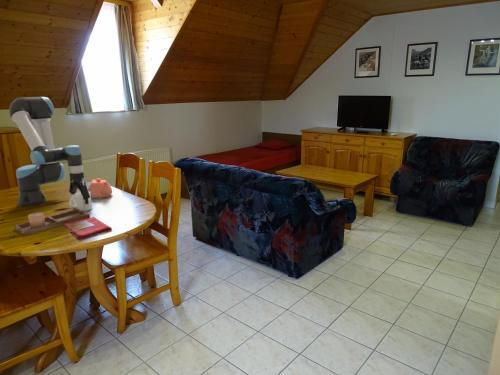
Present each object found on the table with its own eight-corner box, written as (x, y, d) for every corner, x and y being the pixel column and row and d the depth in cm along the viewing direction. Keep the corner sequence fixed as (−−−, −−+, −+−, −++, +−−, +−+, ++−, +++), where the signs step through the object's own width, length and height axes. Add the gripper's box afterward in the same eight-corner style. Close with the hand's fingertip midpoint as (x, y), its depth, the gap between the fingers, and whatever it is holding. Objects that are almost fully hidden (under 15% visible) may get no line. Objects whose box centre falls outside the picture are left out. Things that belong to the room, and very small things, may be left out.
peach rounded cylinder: (28, 227, 187) (25, 214, 185) (42, 223, 192) (40, 211, 190) (33, 230, 183) (31, 217, 181) (48, 226, 188) (46, 214, 186)
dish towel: (79, 241, 175) (78, 236, 174) (62, 227, 191) (61, 222, 190) (113, 231, 186) (112, 226, 185) (95, 219, 202) (94, 214, 202)
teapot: (119, 197, 239) (117, 179, 236) (97, 202, 229) (94, 184, 226) (104, 191, 254) (102, 174, 251) (82, 195, 244) (80, 178, 240)
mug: (71, 213, 210) (68, 196, 208) (69, 209, 217) (67, 192, 214) (93, 209, 216) (91, 193, 213) (91, 205, 223) (89, 189, 220)
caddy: (15, 230, 185) (14, 225, 185) (78, 213, 210) (77, 208, 209) (25, 237, 178) (24, 231, 177) (90, 218, 202) (89, 213, 201)
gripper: (59, 170, 215) (65, 204, 221) (80, 176, 200) (85, 212, 206) (72, 168, 221) (77, 201, 227) (93, 174, 206) (98, 209, 212)
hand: (81, 206), depth 216 cm, fingers open, 13 cm apart
